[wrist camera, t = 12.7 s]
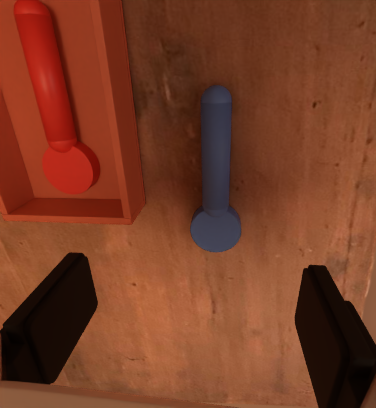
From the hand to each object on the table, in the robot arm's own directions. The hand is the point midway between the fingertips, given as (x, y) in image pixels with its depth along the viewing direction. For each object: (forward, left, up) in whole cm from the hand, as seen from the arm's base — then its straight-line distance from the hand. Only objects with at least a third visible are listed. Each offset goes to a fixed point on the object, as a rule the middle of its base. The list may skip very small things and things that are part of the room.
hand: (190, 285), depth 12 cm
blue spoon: (-1, +1, -12) cm, 13 cm away
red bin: (-7, -11, -13) cm, 18 cm away
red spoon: (-6, -11, -12) cm, 18 cm away
